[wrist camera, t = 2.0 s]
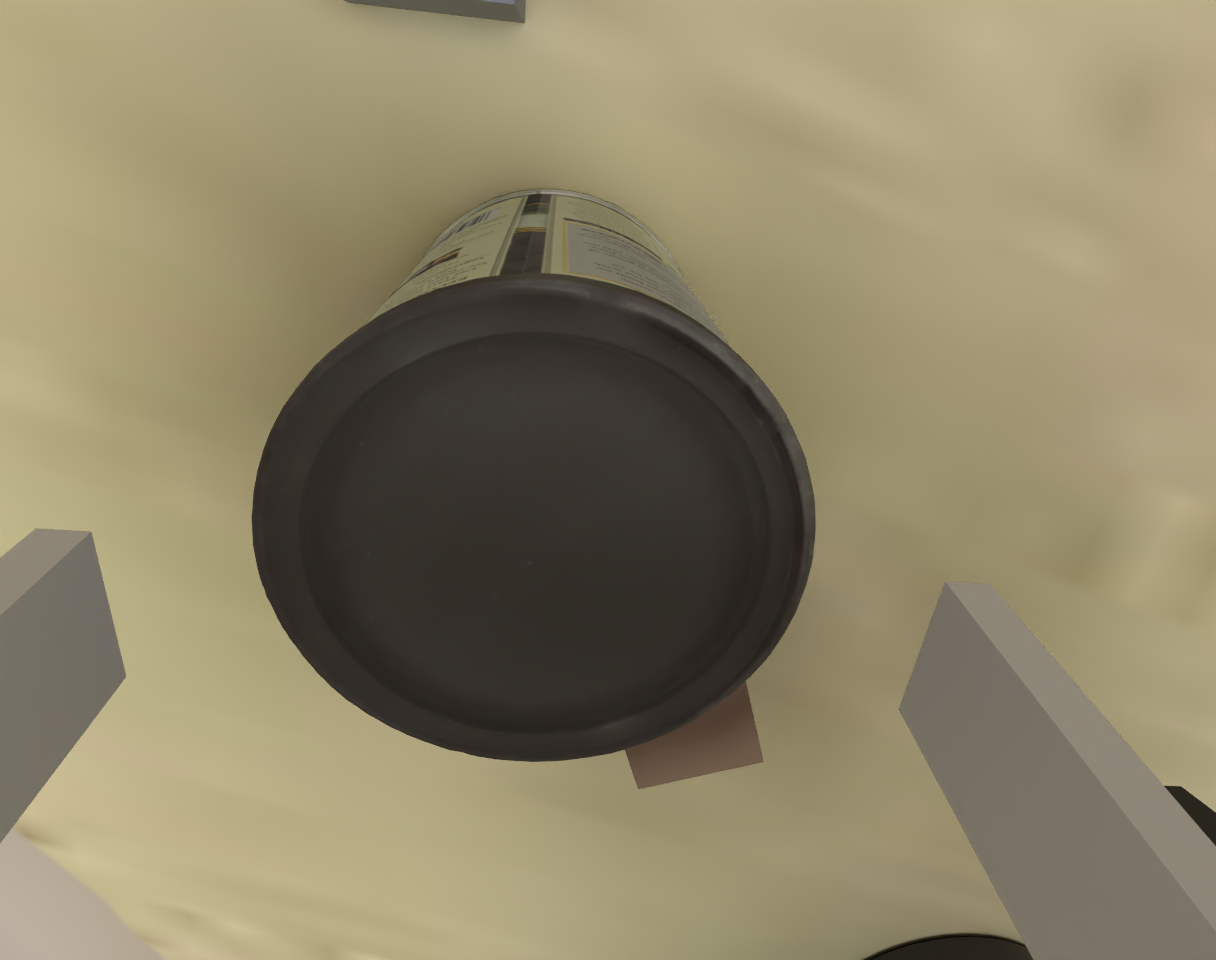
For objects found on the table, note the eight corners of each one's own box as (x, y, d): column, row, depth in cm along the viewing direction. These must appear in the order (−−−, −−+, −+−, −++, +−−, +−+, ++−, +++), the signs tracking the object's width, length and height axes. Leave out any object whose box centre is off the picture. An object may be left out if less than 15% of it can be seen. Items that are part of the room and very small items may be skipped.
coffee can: (609, 516, 30) (640, 822, 17) (359, 399, 27) (177, 659, 14) (757, 284, 26) (936, 459, 13) (481, 121, 23) (379, 148, 11)
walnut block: (737, 674, 34) (763, 762, 29) (629, 698, 34) (638, 789, 30) (717, 585, 32) (741, 665, 27) (601, 612, 32) (607, 695, 27)
